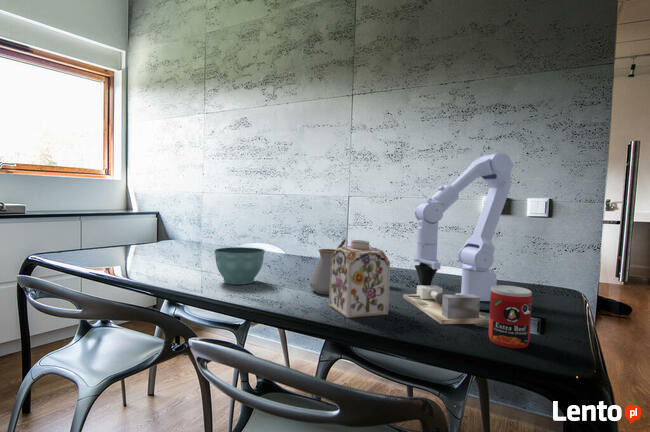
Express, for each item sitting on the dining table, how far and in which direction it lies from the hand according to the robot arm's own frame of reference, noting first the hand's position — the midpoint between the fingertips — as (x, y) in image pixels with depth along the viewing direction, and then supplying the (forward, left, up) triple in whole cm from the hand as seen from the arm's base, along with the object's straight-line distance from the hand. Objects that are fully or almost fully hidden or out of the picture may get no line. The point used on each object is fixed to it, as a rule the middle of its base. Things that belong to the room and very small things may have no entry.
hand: (425, 289), depth 114 cm
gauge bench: (0, +11, -3) cm, 11 cm away
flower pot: (+55, -23, -3) cm, 60 cm away
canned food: (-3, +35, -3) cm, 35 cm away
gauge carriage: (+2, +6, -1) cm, 6 cm away
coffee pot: (+25, -14, -3) cm, 29 cm away
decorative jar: (+23, +11, -3) cm, 26 cm away
